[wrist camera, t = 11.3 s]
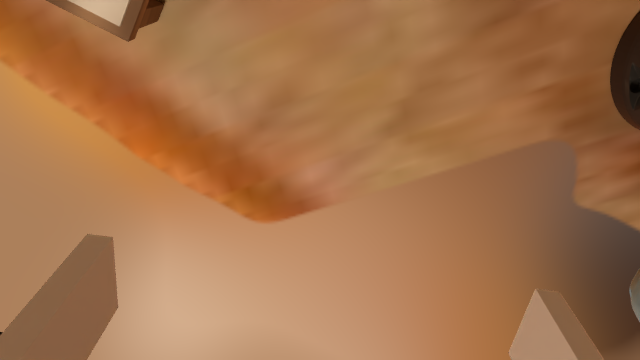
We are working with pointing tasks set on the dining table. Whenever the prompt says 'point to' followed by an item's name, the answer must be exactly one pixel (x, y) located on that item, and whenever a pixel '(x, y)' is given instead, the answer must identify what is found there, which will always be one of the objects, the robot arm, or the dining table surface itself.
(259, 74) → the dining table surface
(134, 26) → the footstool
